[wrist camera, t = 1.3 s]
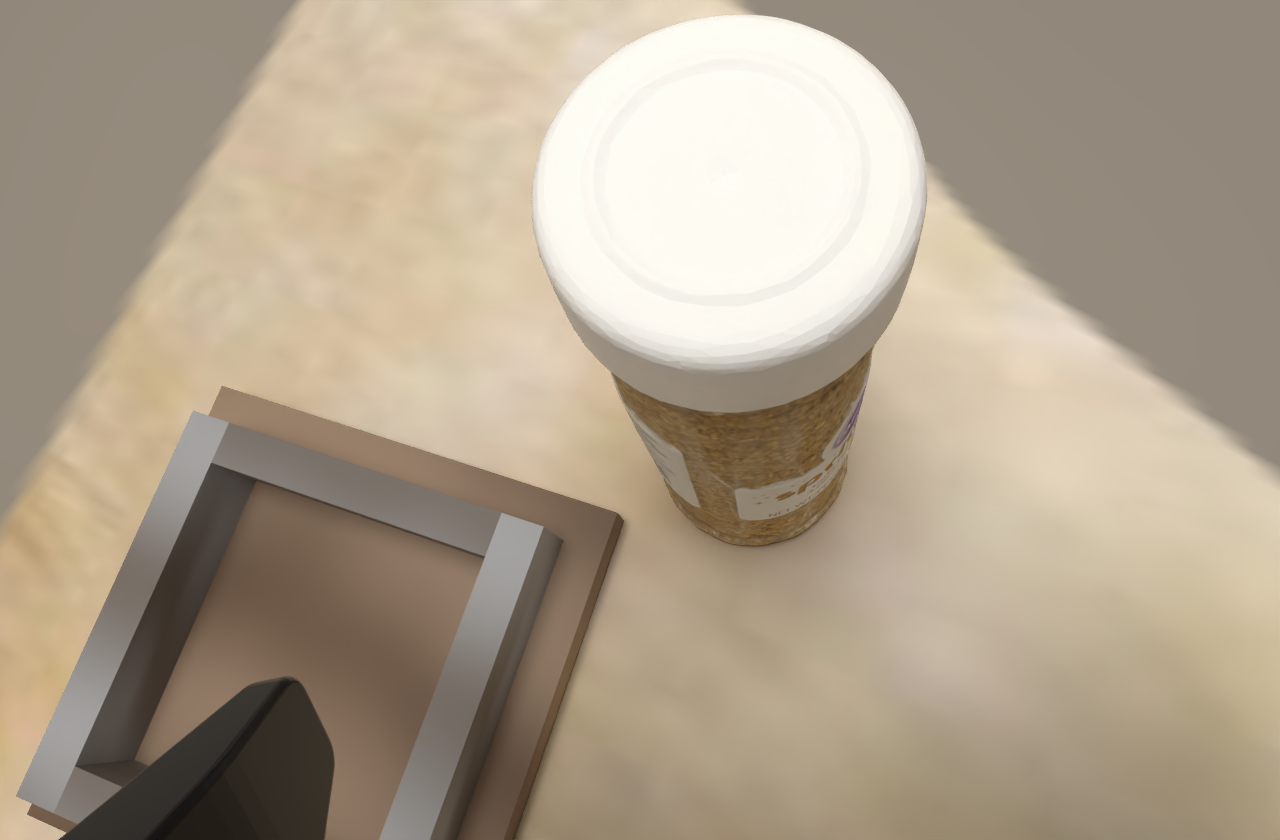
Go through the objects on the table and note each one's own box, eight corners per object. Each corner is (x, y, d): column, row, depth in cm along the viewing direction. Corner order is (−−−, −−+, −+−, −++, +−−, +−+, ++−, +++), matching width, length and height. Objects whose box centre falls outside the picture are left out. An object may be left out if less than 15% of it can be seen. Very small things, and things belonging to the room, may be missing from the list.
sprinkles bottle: (842, 555, 22) (927, 379, 10) (650, 539, 23) (493, 353, 10) (851, 371, 24) (940, -6, 11) (669, 360, 24) (548, -4, 12)
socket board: (460, 991, 21) (410, 1039, 18) (57, 809, 23) (-43, 826, 21) (623, 520, 23) (602, 496, 21) (242, 397, 26) (175, 360, 23)
